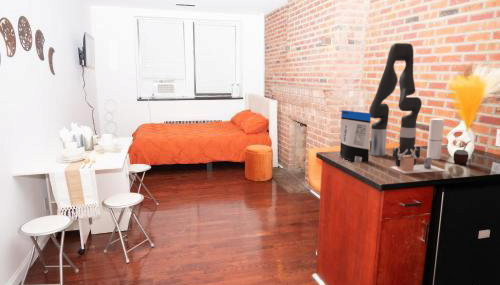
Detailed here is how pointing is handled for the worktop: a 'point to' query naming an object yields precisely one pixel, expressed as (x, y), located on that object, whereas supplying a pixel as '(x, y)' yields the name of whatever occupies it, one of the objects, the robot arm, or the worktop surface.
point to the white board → (420, 169)
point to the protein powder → (355, 136)
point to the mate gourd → (461, 156)
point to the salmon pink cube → (406, 163)
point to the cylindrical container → (435, 138)
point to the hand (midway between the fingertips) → (405, 165)
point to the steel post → (427, 162)
